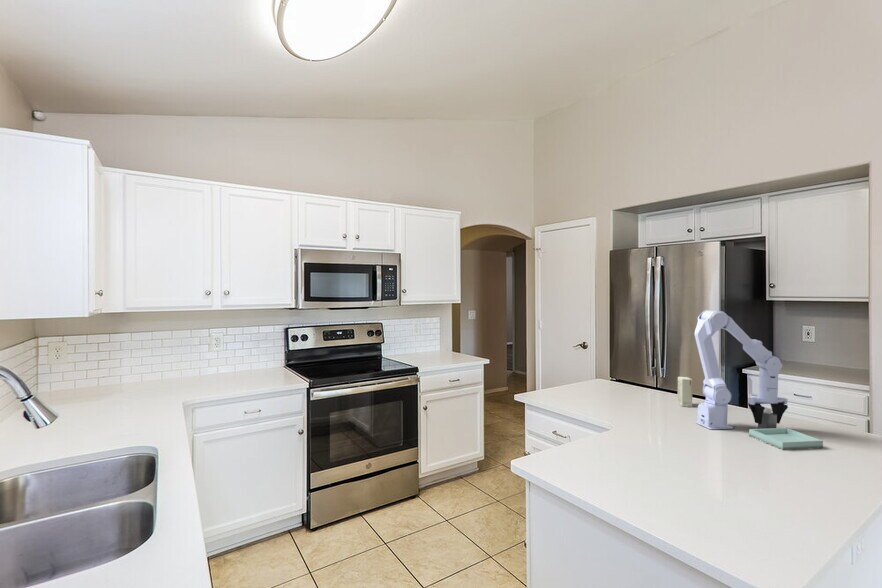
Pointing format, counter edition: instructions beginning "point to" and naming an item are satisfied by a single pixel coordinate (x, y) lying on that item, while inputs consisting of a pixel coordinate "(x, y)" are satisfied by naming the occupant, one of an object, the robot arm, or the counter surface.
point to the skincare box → (685, 391)
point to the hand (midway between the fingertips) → (767, 423)
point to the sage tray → (785, 438)
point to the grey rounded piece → (768, 419)
